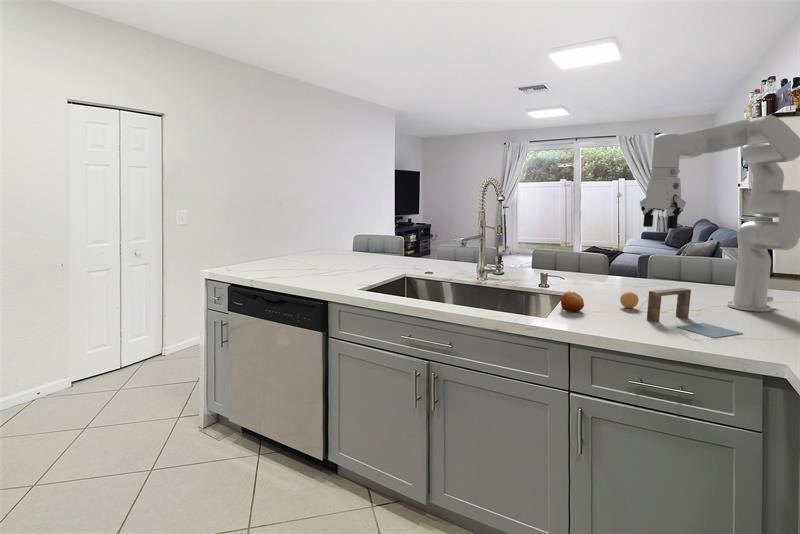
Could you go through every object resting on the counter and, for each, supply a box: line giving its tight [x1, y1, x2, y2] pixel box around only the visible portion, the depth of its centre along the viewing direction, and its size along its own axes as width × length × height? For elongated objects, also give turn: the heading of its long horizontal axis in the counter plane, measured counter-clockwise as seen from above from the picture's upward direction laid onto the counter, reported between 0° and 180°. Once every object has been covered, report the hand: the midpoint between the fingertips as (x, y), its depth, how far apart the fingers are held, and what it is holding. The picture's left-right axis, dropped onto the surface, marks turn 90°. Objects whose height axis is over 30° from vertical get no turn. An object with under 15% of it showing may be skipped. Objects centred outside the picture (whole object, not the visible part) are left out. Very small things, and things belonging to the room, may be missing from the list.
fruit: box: [559, 291, 585, 314], centre depth 159 cm, size 8×8×8 cm
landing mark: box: [675, 322, 744, 339], centre depth 136 cm, size 12×12×1 cm
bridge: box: [646, 287, 692, 323], centre depth 148 cm, size 3×15×10 cm, turn 110°
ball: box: [619, 291, 640, 309], centre depth 163 cm, size 6×6×6 cm
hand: (659, 227), depth 145 cm, fingers open, 9 cm apart
